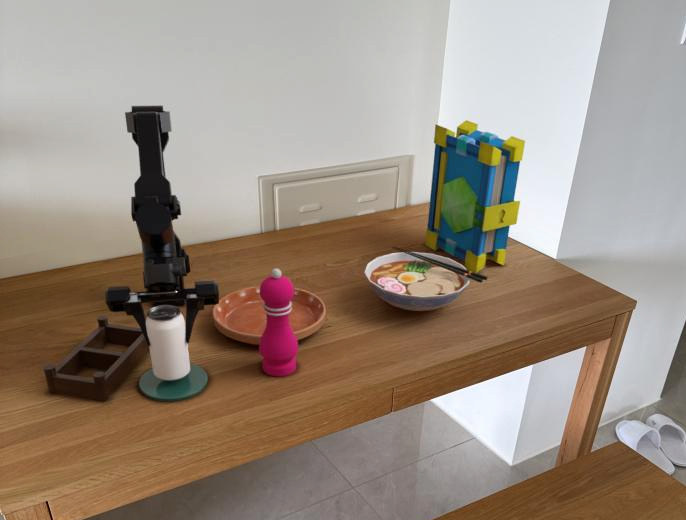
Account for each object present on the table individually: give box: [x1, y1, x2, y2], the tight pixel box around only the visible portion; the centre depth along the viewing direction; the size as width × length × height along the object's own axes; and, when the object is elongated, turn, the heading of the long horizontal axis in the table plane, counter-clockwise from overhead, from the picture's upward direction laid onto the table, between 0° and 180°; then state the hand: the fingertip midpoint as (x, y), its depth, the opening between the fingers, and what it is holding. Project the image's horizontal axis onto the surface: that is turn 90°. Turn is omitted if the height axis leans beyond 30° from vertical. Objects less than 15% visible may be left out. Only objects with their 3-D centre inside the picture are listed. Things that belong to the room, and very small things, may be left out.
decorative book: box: [424, 119, 526, 274], centre depth 173 cm, size 14×23×30 cm, turn 33°
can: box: [146, 305, 191, 381], centre depth 125 cm, size 6×6×12 cm
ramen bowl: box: [364, 246, 488, 312], centre depth 156 cm, size 25×23×8 cm
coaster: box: [138, 363, 209, 402], centre depth 129 cm, size 12×12×1 cm
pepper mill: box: [258, 268, 299, 377], centre depth 129 cm, size 7×7×20 cm
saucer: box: [212, 285, 327, 346], centre depth 147 cm, size 23×23×4 cm
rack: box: [43, 315, 150, 402], centre depth 131 cm, size 20×11×5 cm, turn 168°
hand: (168, 344), depth 123 cm, fingers closed on can, 6 cm apart
